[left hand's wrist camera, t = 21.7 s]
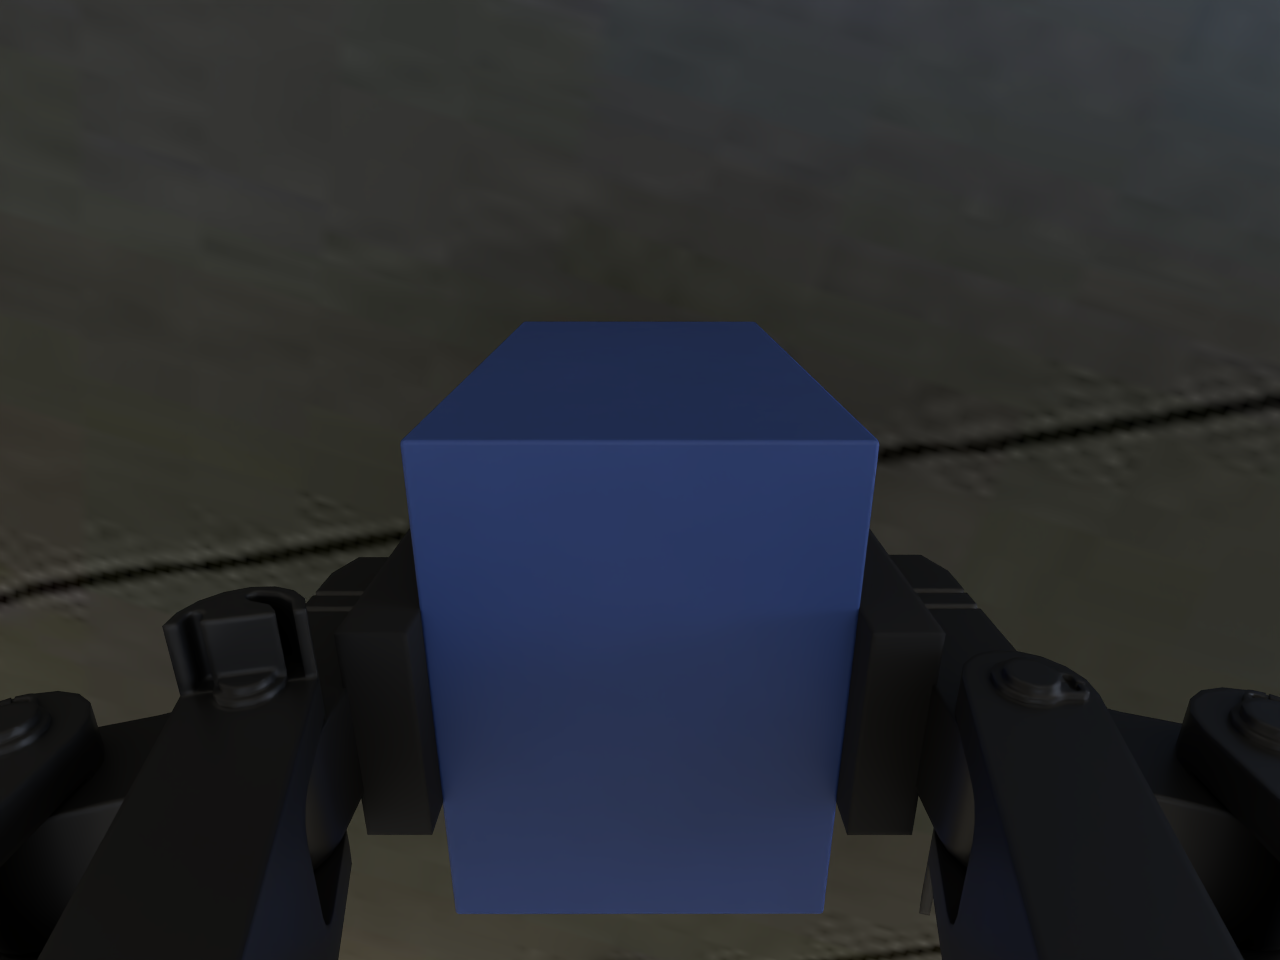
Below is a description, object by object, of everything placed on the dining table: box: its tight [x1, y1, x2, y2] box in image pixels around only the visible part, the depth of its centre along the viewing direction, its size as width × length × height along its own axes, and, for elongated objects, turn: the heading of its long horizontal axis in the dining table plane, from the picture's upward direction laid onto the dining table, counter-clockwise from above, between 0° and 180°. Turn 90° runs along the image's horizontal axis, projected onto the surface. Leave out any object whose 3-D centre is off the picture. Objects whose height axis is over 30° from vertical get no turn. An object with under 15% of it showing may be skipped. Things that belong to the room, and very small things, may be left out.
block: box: [400, 322, 879, 914], centre depth 12 cm, size 5×6×8 cm
